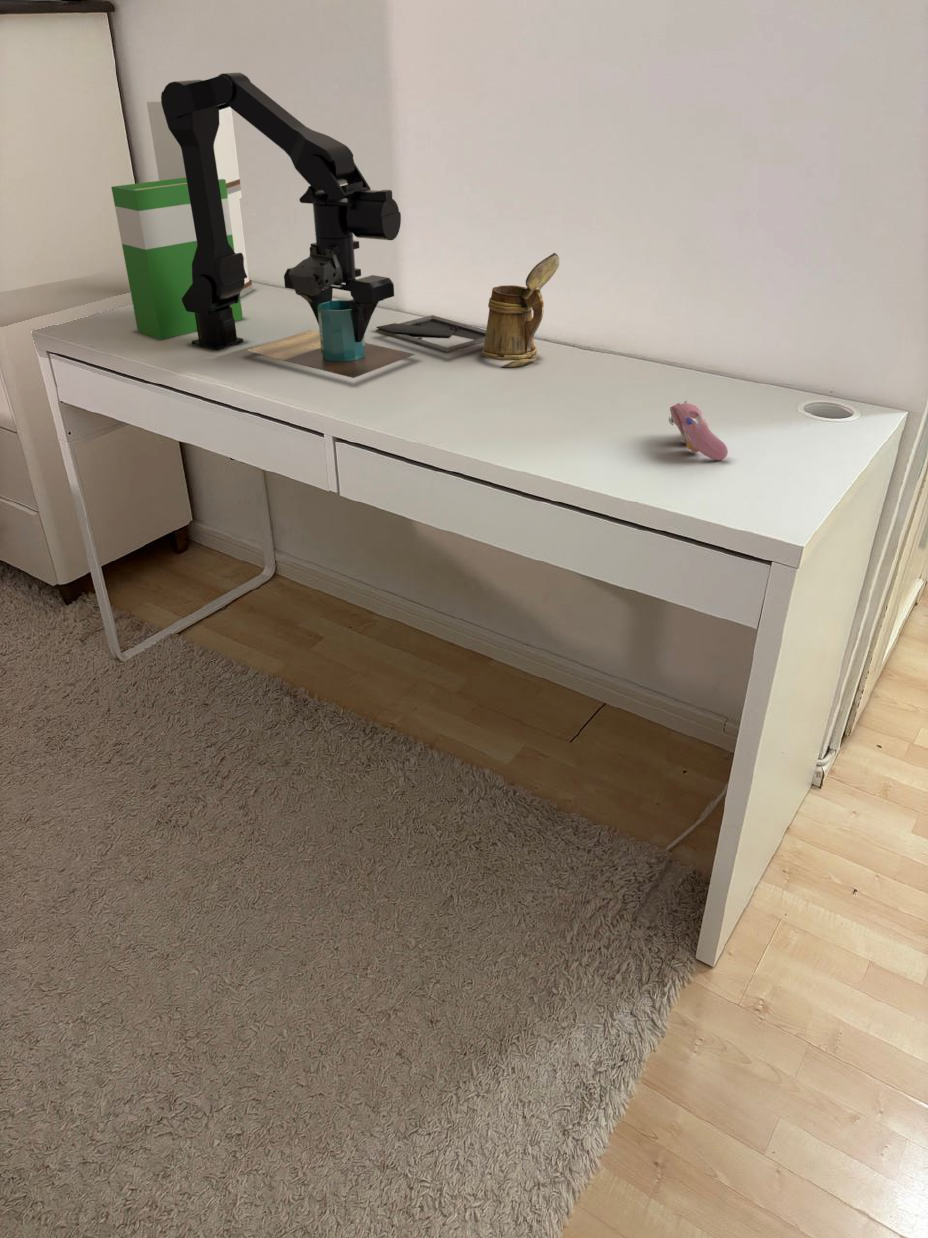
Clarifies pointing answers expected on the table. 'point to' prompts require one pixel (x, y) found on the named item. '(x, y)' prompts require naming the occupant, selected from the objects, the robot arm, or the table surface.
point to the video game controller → (696, 431)
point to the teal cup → (338, 332)
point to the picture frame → (435, 332)
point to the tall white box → (226, 163)
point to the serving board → (309, 354)
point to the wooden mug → (517, 316)
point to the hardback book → (161, 252)
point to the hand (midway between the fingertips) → (342, 338)
